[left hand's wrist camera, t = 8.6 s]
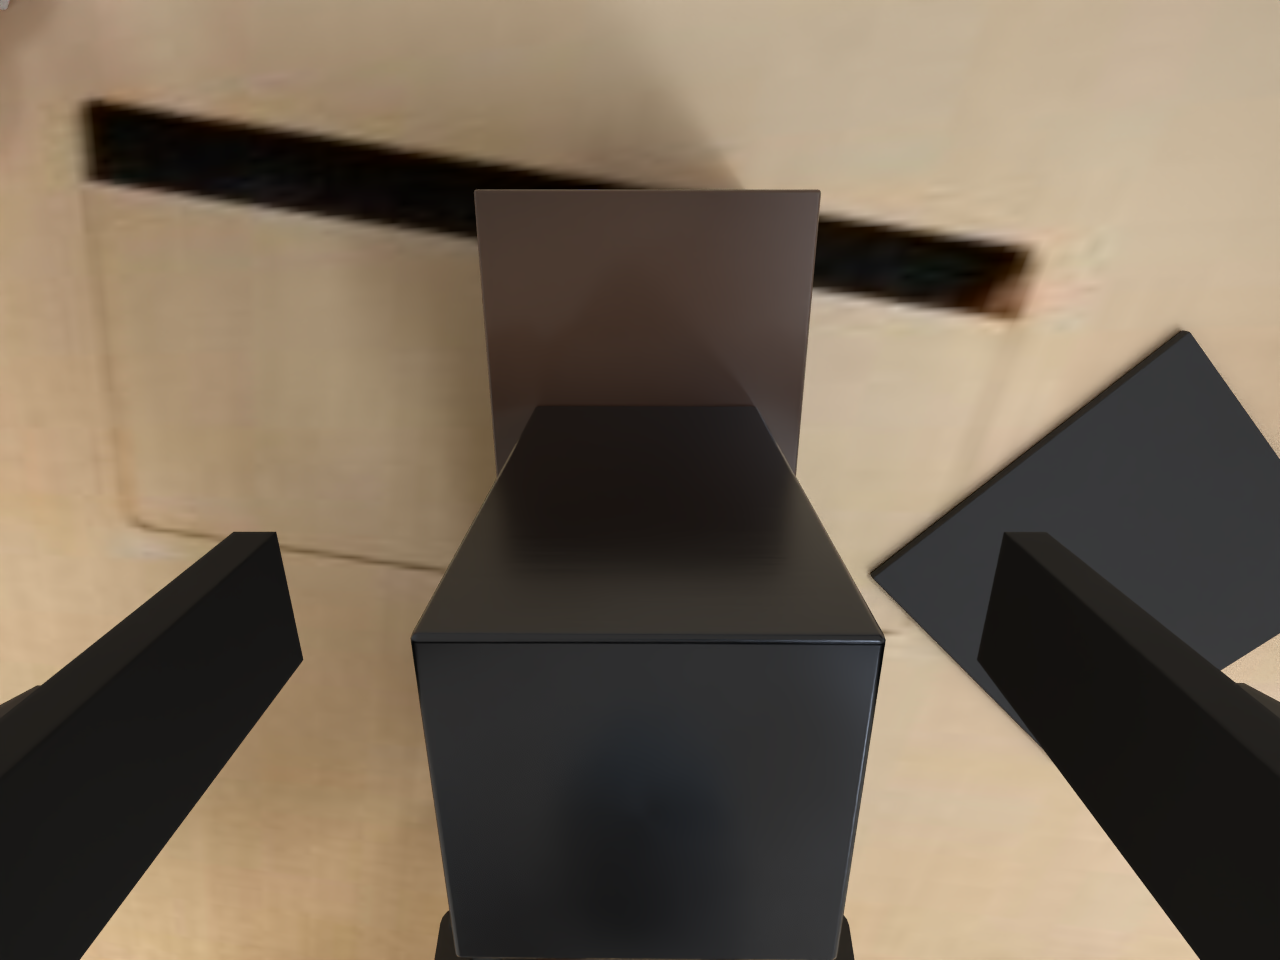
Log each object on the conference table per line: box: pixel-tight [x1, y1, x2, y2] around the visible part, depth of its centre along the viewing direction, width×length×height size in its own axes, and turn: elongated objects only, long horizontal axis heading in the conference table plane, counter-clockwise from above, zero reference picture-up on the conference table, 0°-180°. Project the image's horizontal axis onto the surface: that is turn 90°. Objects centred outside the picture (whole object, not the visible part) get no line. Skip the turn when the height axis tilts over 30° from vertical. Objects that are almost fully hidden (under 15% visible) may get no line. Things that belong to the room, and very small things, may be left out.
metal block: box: [411, 406, 886, 960], centre depth 12 cm, size 5×5×9 cm
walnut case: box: [474, 190, 821, 960], centre depth 24 cm, size 30×7×10 cm, turn 0°
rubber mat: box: [871, 331, 1280, 746], centre depth 28 cm, size 14×14×1 cm
